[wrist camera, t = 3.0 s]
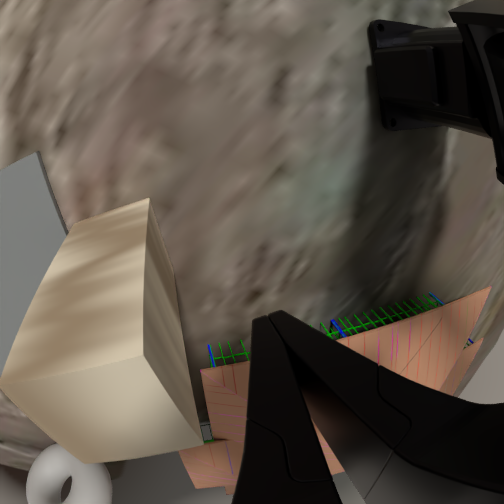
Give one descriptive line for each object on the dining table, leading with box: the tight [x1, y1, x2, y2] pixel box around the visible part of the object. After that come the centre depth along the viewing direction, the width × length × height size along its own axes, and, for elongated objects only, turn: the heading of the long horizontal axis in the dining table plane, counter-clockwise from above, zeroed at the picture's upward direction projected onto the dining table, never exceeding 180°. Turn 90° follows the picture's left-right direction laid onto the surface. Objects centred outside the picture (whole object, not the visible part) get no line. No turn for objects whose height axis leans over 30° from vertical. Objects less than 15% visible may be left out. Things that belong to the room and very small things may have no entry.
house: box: [178, 286, 491, 495], centre depth 24 cm, size 23×33×8 cm
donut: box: [26, 443, 113, 504], centre depth 16 cm, size 10×4×10 cm, turn 111°
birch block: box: [0, 198, 204, 464], centre depth 10 cm, size 4×4×10 cm
